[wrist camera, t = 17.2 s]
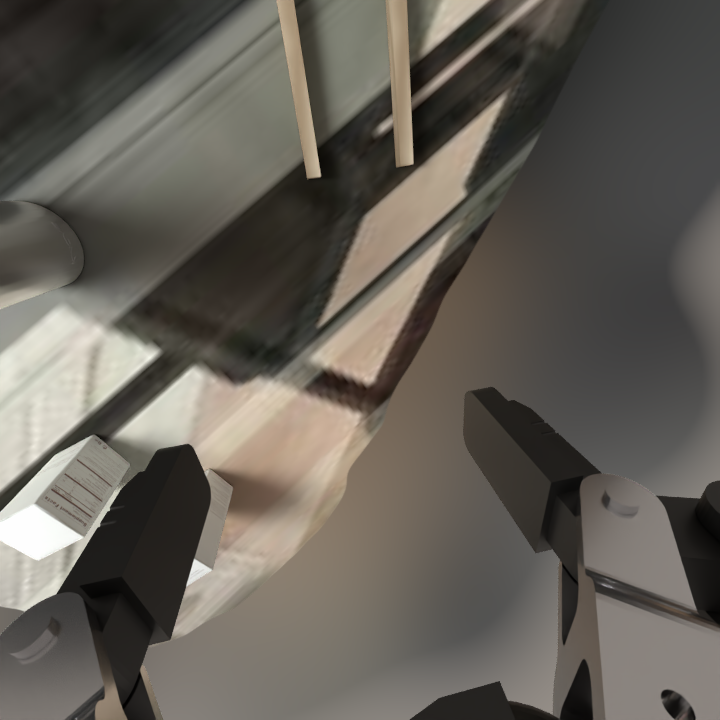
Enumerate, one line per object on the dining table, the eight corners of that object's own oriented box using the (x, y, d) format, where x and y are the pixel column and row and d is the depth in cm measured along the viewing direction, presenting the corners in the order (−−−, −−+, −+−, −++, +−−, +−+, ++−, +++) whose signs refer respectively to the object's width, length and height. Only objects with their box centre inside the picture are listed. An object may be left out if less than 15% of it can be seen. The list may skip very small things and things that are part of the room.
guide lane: (307, 179, 38) (307, 177, 34) (239, -217, 25) (228, -284, 22) (408, 165, 39) (418, 162, 35) (390, -223, 26) (403, -288, 23)
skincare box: (198, 509, 57) (167, 602, 44) (171, 490, 55) (128, 583, 41) (236, 485, 56) (215, 573, 43) (210, 465, 53) (179, 552, 40)
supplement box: (94, 484, 52) (36, 563, 41) (54, 453, 48) (-22, 531, 37) (133, 464, 51) (85, 539, 40) (95, 432, 48) (31, 504, 37)
